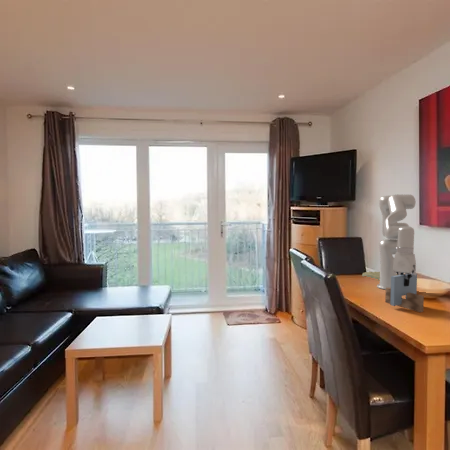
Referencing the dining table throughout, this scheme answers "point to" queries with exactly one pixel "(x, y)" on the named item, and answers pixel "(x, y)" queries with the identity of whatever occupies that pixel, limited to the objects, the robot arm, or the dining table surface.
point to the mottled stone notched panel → (408, 301)
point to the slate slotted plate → (401, 288)
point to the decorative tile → (372, 275)
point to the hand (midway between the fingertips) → (404, 285)
